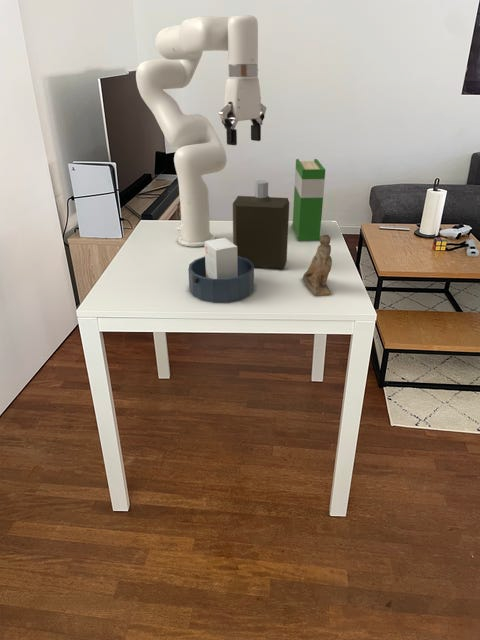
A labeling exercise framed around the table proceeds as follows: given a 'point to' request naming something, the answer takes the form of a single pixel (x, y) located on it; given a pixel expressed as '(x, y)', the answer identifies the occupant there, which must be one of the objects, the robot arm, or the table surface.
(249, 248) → the bottle
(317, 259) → the brown carved statuette
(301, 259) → the table surface
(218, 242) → the small box
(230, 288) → the blue-grey ring
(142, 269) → the table surface
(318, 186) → the hardback book
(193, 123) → the robot arm
